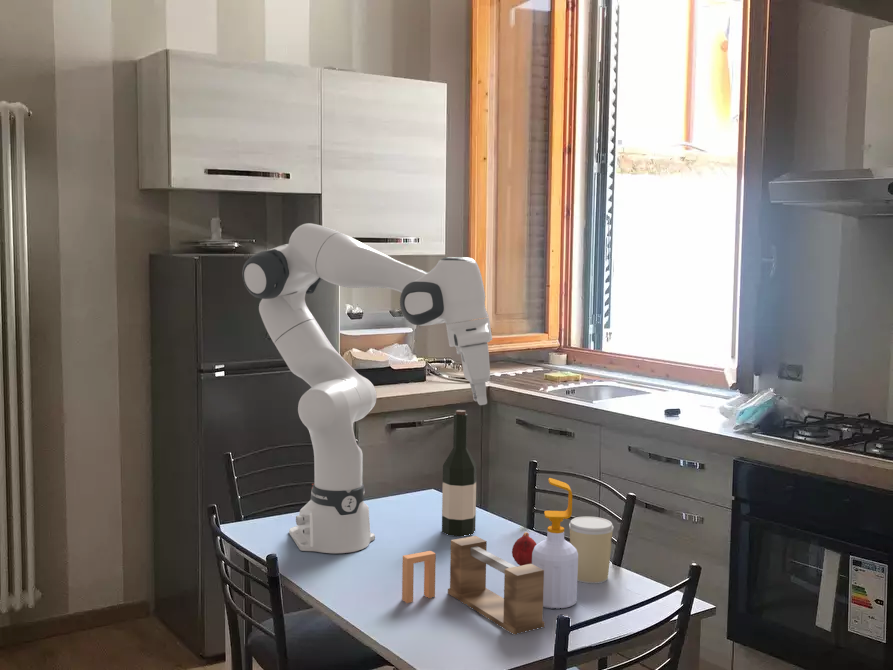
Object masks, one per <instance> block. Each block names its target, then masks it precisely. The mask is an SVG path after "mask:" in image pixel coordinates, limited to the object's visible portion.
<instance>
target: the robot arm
mask: <svg viewBox="0 0 893 670" xmlns="http://www.w3.org/2000/svg"><path fill="white" fill-rule="evenodd" d="M241 274H242V281H243V284H244V286H245V288H246V290H247V291H248V293H249V294H250V295H251V296H253V297H254V298H257V299H261V300H260V301H259V304H258V305H259V306H258V312H259V315H260V317H261V321H262V323H263V325H264V328H265V330H266V331H267V333H268V336H269V337H270V339H271V341H272V343H273V344H274V345H275V347H276V350H278V353H279V354H280V356H281V358H282V359H283V360H284V362H285V364H286V366H287V368H288V369H289V370H290V372H291V373H292V374H294V375H295V376H296V377H298V378H300V379H302V380H303V381H304V382H305V383H306V384H307V385H309V386H310V388H309V389H308V390H306V391H305V392H304V393H303V394H302V395H301V397H300V399H299V401H298V403H297V404H298V405H297V406H298V407H297V412H298V416H299V419H300V421H301V422H302V424H303V425H304V426H305V427H306V428H307V430H308V432H309V435H310V440H311V444H312V449H313V456H314V457H313V461H314V471H313V472H314V483H311V486H312V487H311V492H310V500H309V501H308V502H307V503H306V504H305V505H304V506H302V508H300V510H299V512H298V513H299V514H298V515H296V516H295V522H296V523H295V524H296V525H295V526H293V527H290V528H289V530H288V531H289V532H288V533H289V535H290V536H291V538H292V540H293V541H294V543H295V544H296V546H297V547H298V549H299V550H300V551H303V552H318V553H324V554H345V553H346V554H347V553H354V552H358V551H360V550H361V551H362V550H363V549H365V548H367V547H368V546H369V545H370V543H371V542H372V541H374V540H375V539H376V535H375V533H373V532H371V523H370V510H369V508H370V507H369V506H368V504H367V503H365V502H364V500H365V494H366V493H365V485H364V483H363V456H364V455H363V450H362V448H361V447H360V446H359V445H358V443H357V439H356V436H355V433H354V422H357V421H360V420H362V419H364V418H365V417H366V416H367V415H368V414H369V413H370V412H371V411H372V409H373V408H374V407H375V405H376V403H377V391H376V388H375V386H374V384H373V383H372V382H371V381H370V380H369V379H368V378H366V377H365V376H363V375H362V374H359V373H358V372H357V370H355V368H353V367H352V366H351V364H349V363H348V362H347V360H346V359H344V357H342V355H341V354H340V353H339V352H338V351H337V349H335V347H334V346H333V345H332V343H331V342H330V340H329V339H328V337H327V336H326V334H325V332H324V331H323V329H322V328H321V326H320V324H319V323H318V321H317V320H316V318H315V316H314V315H313V314H312V312H311V311H310V309H309V307H308V306H307V303H306V295H307V294H308V295H311V294H314V293H315V291H316V289H317V287H318V286H319V284H320V283H322V281H323V280H324V281H325V282H327V283H329V284H332V285H335V286H339V287H342V288H347V289H361V288H381V289H382V288H383V289H389V290H393V291H396V292H398V293H401V294H400V298H399V307H400V310H401V313H402V315H403V317H404V319H406V321H407V322H409V323H410V324H411V325H415V326H420V327H421V326H424V327H425V326H431V325H433V326H435V325H441V324H444V323H445V327H446V333H447V340H448V345H449V347H450V348H452V347H455V350H456V354H457V355H460V359H461V364H462V365H461V366H462V372H463V376H464V379H466V380H467V381H468V382H469V385H470V389H471V392H472V398H473V401H474V402H477V404H478V405H479V406H485V405H488V398H487V385H486V383H487V382H490V380H491V379H490V378H491V366H490V365H491V364H490V353H489V350H490V349H489V344H488V343H490V342H491V341H493V335H492V329H491V322H490V317H489V313H488V312H487V309H486V303H485V302H486V292H485V287H484V286H485V285H484V280H483V277H482V273H481V269H480V267H479V265H478V263H477V261H476V260H475V259H474V258H472V257H467V256H455V257H454V256H448V257H443V258H440V259H439V260H438V261H437V264H436V265H435V266H434V267H432V268H431V270H430V271H425V270H422V269H420V268H418V267H415V266H413V265H411V264H407V263H405V262H403V261H401V260H397V259H395V258H392V257H390V256H389V255H387V254H385V253H383V252H381V251H379V250H377V249H375V248H372V247H370V246H369V245H367V244H365V243H363V242H361V241H359V240H358V239H356V238H355V237H352V236H350V235H347V234H346V233H344V232H341V231H339V230H337V229H334V228H331V227H327V226H324V225H322V224H321V225H320V224H316V223H311V222H310V223H309V222H308V223H303V224H300V225H299V226H297V227H296V228H295V229H294V231H293V232H292V233H291V235H290V237H289V240H288V243H286V244H282V245H277V246H276V247H274V248H270V249H268V250H263V251H260V252H257V253H255V254H253V255H251V256H250V257H249V258H248V259H247V260H246V261H245V262H244V264H243V267H242V272H241Z"/></svg>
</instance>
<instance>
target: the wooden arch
mask: <svg viewBox="0 0 893 670" xmlns="http://www.w3.org/2000/svg"><path fill="white" fill-rule="evenodd" d="M436 556H437V555H436V553H435V552H434V551H432V550H426V551H422V552H416V553H415V552H414V553H410V554H405V555H404V554H403V555H402V569H401V570H402V572H401V573H402V574H401V575H402V576H401V577H402V579H401V580H402V581H401V600H402V601H403V602H404V603H405V604H410V603H414V575H415V574H414V569H415V568H414V564H418V563H423V564H424V566H423V569H424V571H423V573H424V574H423V578H424V579H423V596H424V595H425V597H426V598H427V597H428V599H433V598H432V597H434V598H435V597H436V565H437V564H436Z"/></svg>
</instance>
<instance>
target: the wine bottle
mask: <svg viewBox="0 0 893 670" xmlns="http://www.w3.org/2000/svg"><path fill="white" fill-rule="evenodd" d="M468 415H469V414H468V413H467V410H464V409H457V410H455V413H453V437H452V439H453V440H452V442H453V443H452V445H453V446H452V450H451V452H450V453H449V454H448V456H447V458H446V459H445V461H444V463H443V464H442V494H441V495H442V498H441V499H442V500H441V501H442V503H441V505H442V507H441V533H442V532H444V533H446V534H448V535H454V536H453V537H457V536H464V535H469V534H470V535H469V536H472V535H471V534H473V533H474V534H475V532H476V518H477V517H476V514H477V510H476V509H477V508H476V506H477V472H478V471H477V469H478V468H477V463H476V461H475V459H474V457H473V455H472V454H471V452H470V450H469V449H468V420H469V419H468ZM474 531H475V532H474ZM444 533H443V534H444ZM446 534H445V535H446ZM474 534H473V535H474ZM448 535H447V536H448ZM464 537H465V536H464Z"/></svg>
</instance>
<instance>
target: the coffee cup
mask: <svg viewBox="0 0 893 670" xmlns="http://www.w3.org/2000/svg"><path fill="white" fill-rule="evenodd" d="M568 528H569V543H571V544H572V545H573V546H574V547H575V548H576V549H577V552H578V576H577V582H579V583H585V584H601V582H602V583H604V581H605V582H606V581H608V579H609V578H608V577H609V570H610V562H611V554H612V553H611V552H612V543H613V532H614V525H613V523H612V521H610V520H609V519H607V518H602V517H598V516H591V515H590V516H577V517H575V518H572V519H571V520H570V521H569V524H568Z"/></svg>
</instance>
